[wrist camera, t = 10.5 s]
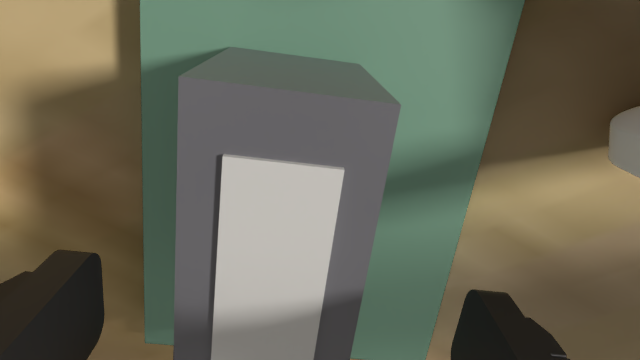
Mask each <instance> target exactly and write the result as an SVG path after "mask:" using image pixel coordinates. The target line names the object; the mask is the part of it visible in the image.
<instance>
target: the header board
mask: <svg viewBox="0 0 640 360" xmlns="http://www.w3.org/2000/svg"><path fill="white" fill-rule="evenodd" d="M524 2H525V0H140V43H141V111H142V179H143V247H144V315H145V343H150V344H164V345H174V299H175V243H176V188H177V133H178V77H179V76H180V75H182V74H184V73H185V72H187V71H189V70H191V69H192V68H194V67H196V66H198V65H199V64H201V63H203V62H205V61H207V60H208V59H210V58H212V57H214V56H215V55H217V54H219V53H221V52H223V51H224V50H226V49H228V48H230V47H237V48H244V49H252V50H259V51H267V52H274V53H282V54H289V55H297V56H304V57H311V58H319V59H326V60H334V61H341V62H349V63H356V64H360V65H361V66H362V67H363V68H364V69H365V70H366V71H367V72H368V73H369V74H370V75H371V76H372V77H374V78H375V79H376V80H377V81H378V82H379V83H380V84H381V85H382V86H383V87H384V88H385V89H386V90H387V91H388V92H389V93H390V94H391V95H392V96H393V97H394V98H395V99H396V100H397V101H398V102H399V103H400V104H401V109H400V114H399V119H398V124H397V128H396V133H395V138H394V143H393V148H392V153H391V158H390V163H389V168H388V173H387V178H386V183H385V188H384V193H383V198H382V203H381V208H380V213H379V218H378V223H377V228H376V233H375V237H374V242H373V247H372V252H371V257H370V262H369V267H368V272H367V277H366V282H365V287H364V292H363V297H362V302H361V307H360V312H359V317H358V322H357V327H356V332H355V337H354V342H353V347H352V351H351V356H350V358H351V359H365V360H425V359H426V356H427V352H428V348H429V345H430V341H431V338H432V334H433V330H434V327H435V323H436V320H437V316H438V312H439V309H440V305H441V301H442V298H443V294H444V291H445V287H446V283H447V280H448V276H449V273H450V269H451V265H452V262H453V258H454V255H455V251H456V247H457V244H458V240H459V237H460V233H461V229H462V226H463V222H464V218H465V215H466V211H467V208H468V204H469V200H470V197H471V193H472V190H473V186H474V182H475V179H476V175H477V172H478V168H479V164H480V161H481V157H482V154H483V150H484V146H485V143H486V139H487V136H488V132H489V128H490V125H491V121H492V117H493V114H494V110H495V107H496V103H497V99H498V96H499V92H500V89H501V85H502V81H503V78H504V74H505V71H506V67H507V63H508V60H509V56H510V53H511V49H512V45H513V42H514V38H515V35H516V31H517V27H518V24H519V20H520V16H521V13H522V9H523V6H524Z"/></svg>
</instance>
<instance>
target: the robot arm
mask: <svg viewBox="0 0 640 360" xmlns="http://www.w3.org/2000/svg"><path fill="white" fill-rule="evenodd" d="M103 322H104V301H103V285H102V268H101V260H100V257H99V255H98V254H97V253H88V252H78V251H67V250H57V251H55V252H54V253H53V254H51V255H50V256H49V257H48V258H47V259H46V260H45V261H44V262H43V263H42V264H41V265H40V266H39V267H38V268H37V269H36V270H35V271H34V272H27V271H25V272H23V273H21V274H19V275H17V276H15V277H13V278H11V279H9V280H7V281H5V282H3V283H1V284H0V360H87V358H88V357H89V355H90V353H91V352H92V350H93V349H94V347H95V345H96V344H97V342H98V340H99V337H100V334H101V331H102V328H103ZM451 360H570V359H567V358H566V354H565V352H564V351H563V350H562V348H561V347H560V345H559V344H558V343H557V341H556V340H555V339H554V337H553V336H552V335H551V334H550V333H548V332H547V331H546V330H545V329H543V328H542V327H541V326H540V325H538V324H537V323H536V322H535V321H534V320H532V319H531V318H525V317H524V315H523V314H522V312H521V311H520V310H519V308H518V307H517V305H516V304H515V302H514V301H513V300H512V298H511V297H510V296H509V295H508V294H507V293H504V292H493V291H483V290H470V291H469V292H468V294H467V296H466V298H465V301H464V305H463V308H462V312H461V315H460V319H459V322H458V325H457V329H456V332H455V336H454V339H453V343H452V348H451Z"/></svg>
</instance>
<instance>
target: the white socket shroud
mask: <svg viewBox="0 0 640 360" xmlns="http://www.w3.org/2000/svg"><path fill="white" fill-rule="evenodd" d="M608 158H609V160H610V161H611V163H612V164H614V165H615V166H617V167H619V168H621V169H623V170H625V171H627V172H629V173H631V174H633V175H635V176H637V177H639V178H640V106H638V107H635V108H632V109H629V110H626V111H624V112H621V113H619V114H618V115H616V116H615V117H613V118H612V120H611V122H610V134H609V151H608Z"/></svg>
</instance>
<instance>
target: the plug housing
mask: <svg viewBox="0 0 640 360" xmlns="http://www.w3.org/2000/svg"><path fill="white" fill-rule="evenodd" d="M400 109H401V104H400V103H399V102H398V101H397V100H396V99H395V98H394V97H393V96H392V95H391V94H390V93H389V92H388V91H387V90H386V89H385V88H384V87H383V86H382V85H381V84H380V83H379V82H378V81H377V80H376V79H375V78H374V77H372V76H371V75H370V74H369V73H368V72H367V71H366V70H365V69H364V68H363V67H362V66H361V65H360V64H356V63H349V62H341V61H334V60H326V59H319V58H311V57H304V56H297V55H289V54H282V53H274V52H267V51H259V50H252V49H244V48H237V47H230V48H228V49H226V50H224V51H223V52H221V53H219V54H217V55H215V56H214V57H212V58H210V59H208V60H207V61H205V62H203V63H201V64H199V65H198V66H196V67H194V68H192V69H191V70H189V71H187V72H185V73H184V74H182V75H180V76H179V77H178V133H177V188H176V243H175V299H174V354H173V360H350V356H351V351H352V347H353V342H354V337H355V332H356V327H357V322H358V317H359V312H360V307H361V302H362V297H363V292H364V287H365V282H366V277H367V272H368V267H369V262H370V257H371V252H372V247H373V242H374V237H375V233H376V228H377V223H378V218H379V213H380V208H381V203H382V198H383V193H384V188H385V183H386V178H387V173H388V168H389V163H390V158H391V153H392V148H393V143H394V138H395V133H396V128H397V124H398V119H399V114H400Z"/></svg>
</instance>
